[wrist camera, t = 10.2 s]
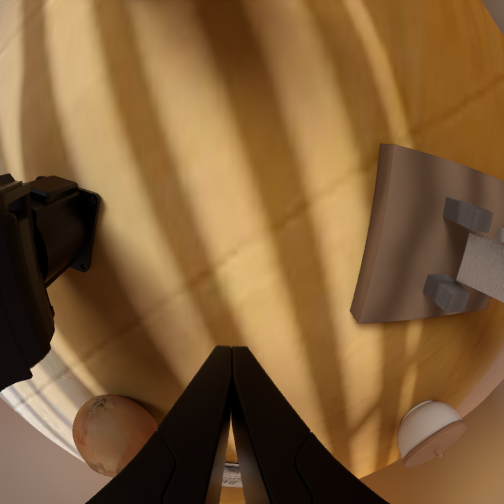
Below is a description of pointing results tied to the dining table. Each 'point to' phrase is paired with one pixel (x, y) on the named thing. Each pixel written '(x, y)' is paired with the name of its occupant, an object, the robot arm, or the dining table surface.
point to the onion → (111, 432)
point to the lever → (483, 265)
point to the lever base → (423, 237)
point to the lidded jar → (428, 432)
